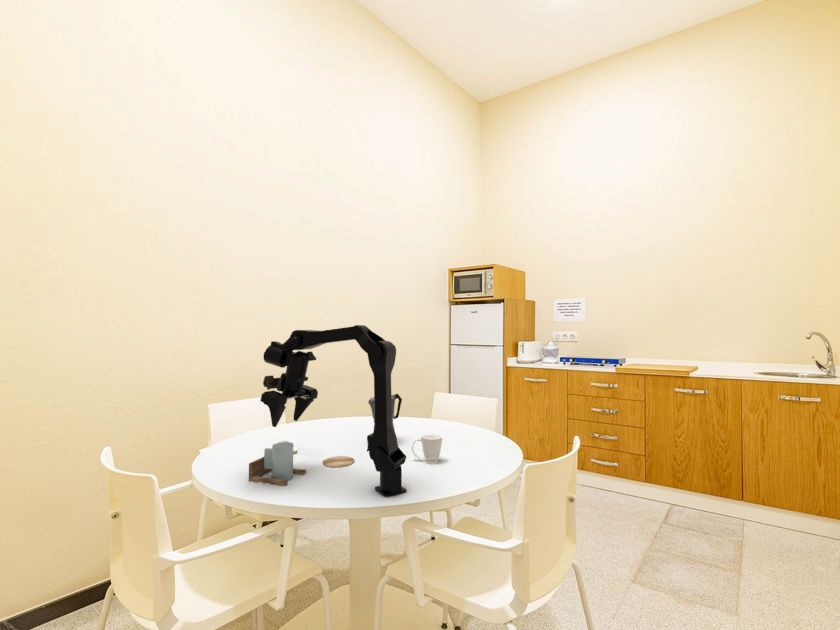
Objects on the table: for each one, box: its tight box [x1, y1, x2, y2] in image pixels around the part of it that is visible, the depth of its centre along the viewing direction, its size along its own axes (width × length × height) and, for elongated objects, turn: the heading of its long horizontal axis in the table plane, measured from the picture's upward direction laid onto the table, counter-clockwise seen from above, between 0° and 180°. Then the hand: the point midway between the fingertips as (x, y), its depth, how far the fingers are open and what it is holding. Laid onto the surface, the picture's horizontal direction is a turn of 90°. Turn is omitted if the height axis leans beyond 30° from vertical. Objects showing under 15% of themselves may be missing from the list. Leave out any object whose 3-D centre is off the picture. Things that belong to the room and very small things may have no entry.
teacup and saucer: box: [277, 440, 299, 454], centre depth 147 cm, size 9×8×4 cm
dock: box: [248, 456, 307, 487], centre depth 122 cm, size 12×10×5 cm
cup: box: [411, 433, 443, 464], centre depth 137 cm, size 7×10×8 cm
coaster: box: [322, 455, 355, 468], centre depth 136 cm, size 10×10×1 cm
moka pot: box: [367, 393, 403, 433], centre depth 159 cm, size 10×15×20 cm, turn 135°
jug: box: [263, 441, 294, 481], centre depth 122 cm, size 9×6×10 cm, turn 73°
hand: (284, 423), depth 123 cm, fingers open, 9 cm apart
